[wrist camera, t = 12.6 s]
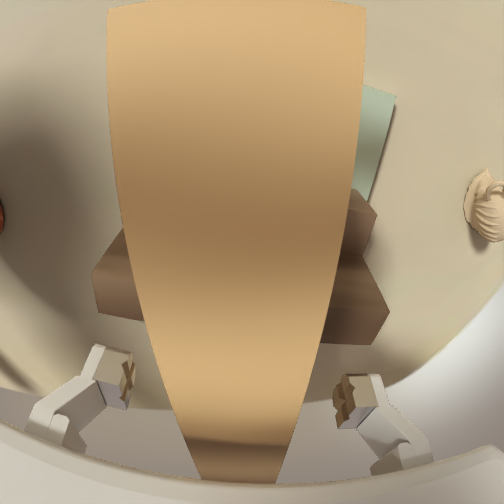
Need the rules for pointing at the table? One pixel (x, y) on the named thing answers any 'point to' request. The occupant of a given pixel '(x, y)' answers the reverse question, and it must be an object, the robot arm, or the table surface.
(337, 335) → the ridge stand
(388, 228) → the table surface
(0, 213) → the supplement bottle
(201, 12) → the oak slat
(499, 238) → the decorative ornament
